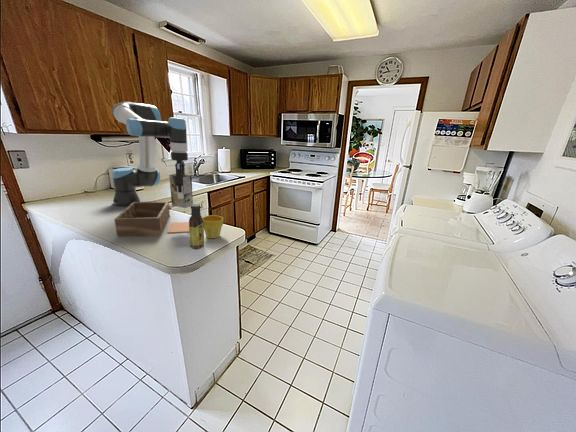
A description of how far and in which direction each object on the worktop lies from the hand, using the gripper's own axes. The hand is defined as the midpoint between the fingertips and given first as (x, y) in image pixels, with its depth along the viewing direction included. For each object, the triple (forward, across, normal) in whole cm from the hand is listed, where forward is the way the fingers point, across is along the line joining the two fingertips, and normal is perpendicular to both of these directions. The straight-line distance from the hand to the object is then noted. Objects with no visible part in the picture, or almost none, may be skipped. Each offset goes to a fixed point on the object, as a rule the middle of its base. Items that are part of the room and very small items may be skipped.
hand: (181, 195), depth 123 cm
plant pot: (+18, +13, +15) cm, 27 cm away
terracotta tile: (+18, 0, 0) cm, 18 cm away
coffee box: (+6, 0, 0) cm, 6 cm away
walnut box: (+18, -5, -19) cm, 27 cm away
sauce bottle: (+18, +24, +8) cm, 31 cm away
